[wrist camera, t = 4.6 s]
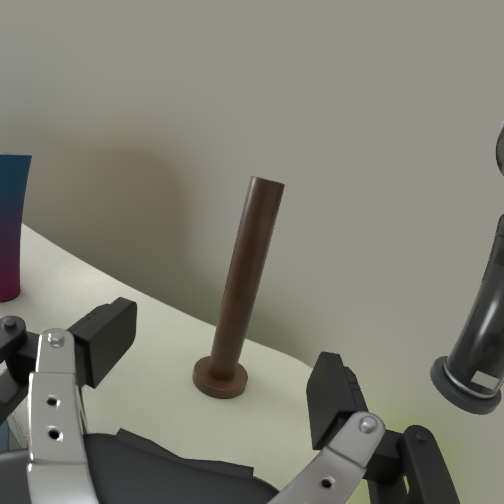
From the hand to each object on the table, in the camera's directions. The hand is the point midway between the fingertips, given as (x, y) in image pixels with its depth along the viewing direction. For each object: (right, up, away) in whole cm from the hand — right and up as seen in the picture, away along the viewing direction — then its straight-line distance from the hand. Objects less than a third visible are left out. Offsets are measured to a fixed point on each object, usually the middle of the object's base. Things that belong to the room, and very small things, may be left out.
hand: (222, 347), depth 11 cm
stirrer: (-1, -7, +10) cm, 12 cm away
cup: (-27, -1, +10) cm, 29 cm away
